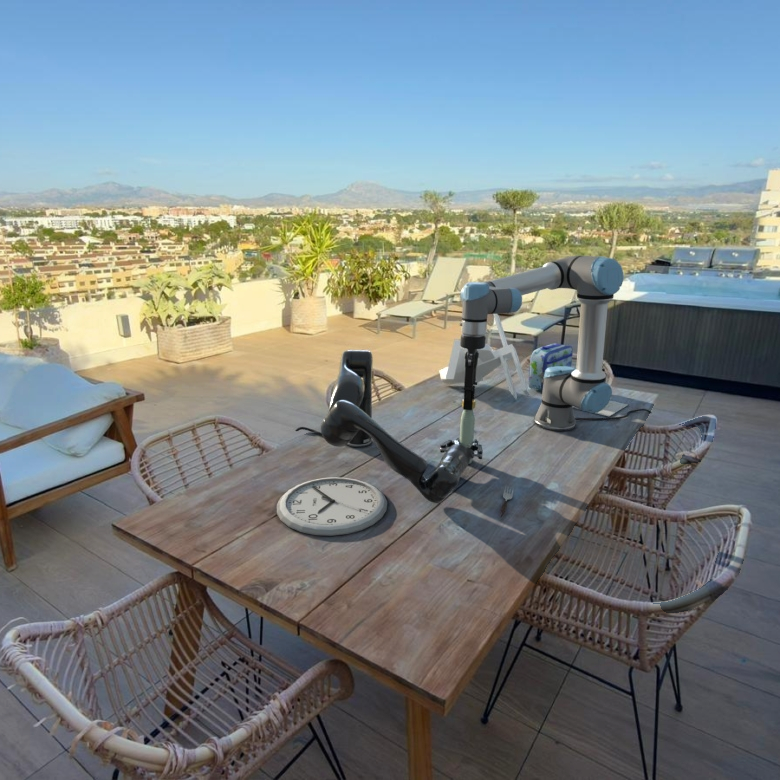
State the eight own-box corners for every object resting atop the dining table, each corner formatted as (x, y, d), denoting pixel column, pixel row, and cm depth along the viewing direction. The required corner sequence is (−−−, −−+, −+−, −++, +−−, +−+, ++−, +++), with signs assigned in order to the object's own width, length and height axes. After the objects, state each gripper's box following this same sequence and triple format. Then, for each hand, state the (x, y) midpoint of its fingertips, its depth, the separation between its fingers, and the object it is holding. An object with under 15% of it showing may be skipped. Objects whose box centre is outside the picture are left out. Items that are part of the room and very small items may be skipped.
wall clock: (392, 527, 129) (268, 531, 127) (391, 533, 130) (269, 537, 127) (383, 473, 158) (282, 475, 155) (383, 478, 158) (282, 480, 156)
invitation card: (608, 416, 214) (573, 407, 224) (608, 416, 214) (573, 408, 224) (628, 404, 229) (594, 396, 238) (628, 405, 229) (594, 397, 238)
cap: (470, 409, 163) (471, 403, 162) (459, 407, 165) (460, 400, 165) (477, 406, 166) (478, 400, 165) (466, 403, 168) (466, 397, 168)
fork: (495, 518, 138) (496, 511, 137) (504, 491, 152) (505, 484, 151) (505, 520, 137) (506, 513, 136) (513, 492, 151) (514, 486, 150)
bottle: (460, 457, 174) (464, 400, 168) (473, 459, 172) (477, 402, 166) (456, 462, 170) (459, 404, 164) (469, 465, 169) (473, 406, 163)
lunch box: (544, 395, 239) (549, 351, 233) (524, 390, 247) (528, 347, 240) (571, 384, 257) (577, 343, 251) (552, 380, 264) (556, 339, 258)
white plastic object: (461, 429, 252) (437, 405, 227) (444, 352, 274) (420, 323, 250) (535, 404, 240) (518, 377, 215) (510, 326, 262) (492, 293, 237)
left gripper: (431, 468, 160) (446, 447, 176) (477, 476, 155) (489, 454, 171) (432, 445, 158) (447, 426, 173) (479, 453, 153) (490, 433, 168)
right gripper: (464, 328, 168) (460, 398, 175) (457, 339, 152) (453, 414, 159) (488, 330, 166) (482, 400, 173) (483, 340, 150) (477, 417, 157)
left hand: (468, 440), depth 172 cm, fingers closed on bottle, 4 cm apart
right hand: (468, 407), depth 166 cm, fingers closed on cap, 4 cm apart
